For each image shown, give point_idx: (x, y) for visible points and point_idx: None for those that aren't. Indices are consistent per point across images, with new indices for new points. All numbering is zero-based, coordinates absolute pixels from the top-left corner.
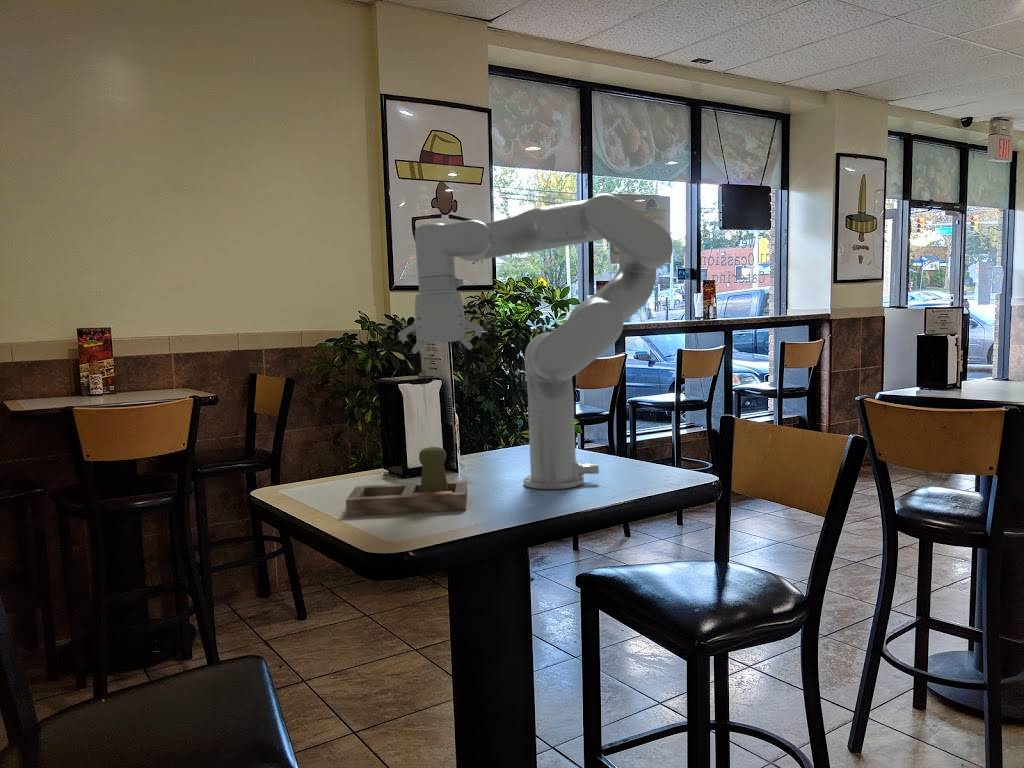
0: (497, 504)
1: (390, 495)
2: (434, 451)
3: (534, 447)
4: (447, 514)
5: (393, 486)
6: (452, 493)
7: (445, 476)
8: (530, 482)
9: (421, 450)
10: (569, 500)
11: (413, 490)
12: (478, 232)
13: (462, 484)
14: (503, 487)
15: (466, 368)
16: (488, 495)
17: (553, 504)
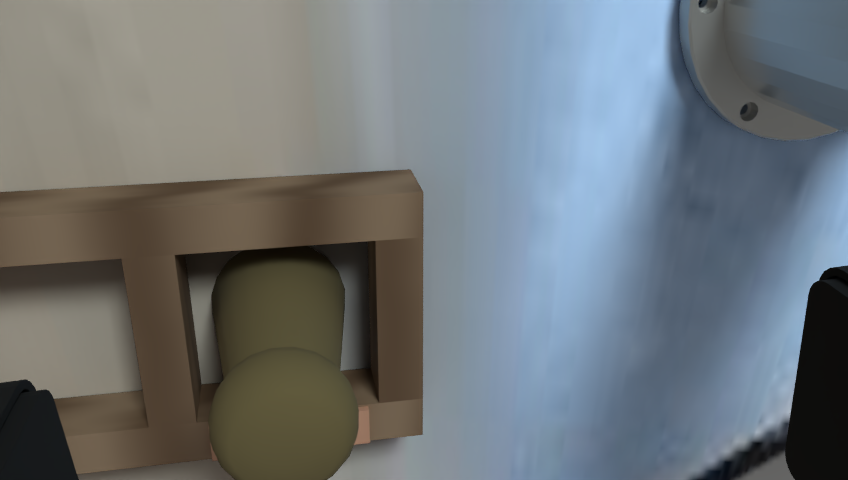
0: (527, 328)
1: (99, 433)
2: None
3: (841, 101)
4: None
5: (56, 262)
6: (370, 421)
7: (340, 365)
8: (706, 78)
9: (224, 458)
10: (778, 299)
11: (186, 356)
12: None
13: (405, 267)
14: (579, 26)
15: (795, 469)
16: (501, 179)
17: (713, 347)
